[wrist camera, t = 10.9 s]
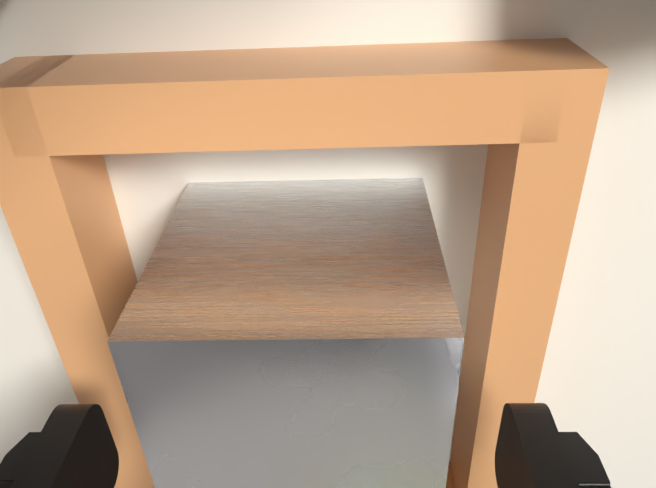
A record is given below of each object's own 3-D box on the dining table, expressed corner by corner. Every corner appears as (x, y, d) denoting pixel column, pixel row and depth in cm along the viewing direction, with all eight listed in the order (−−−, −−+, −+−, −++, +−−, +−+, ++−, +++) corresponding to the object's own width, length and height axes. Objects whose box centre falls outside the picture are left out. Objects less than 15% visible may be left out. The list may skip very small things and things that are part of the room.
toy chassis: (920, -196, 10) (1363, -254, 5) (630, 504, 20) (704, 665, 16) (-310, -134, 11) (-739, -144, 6) (32, 504, 21) (-44, 657, 17)
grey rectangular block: (422, 177, 12) (463, 337, 8) (407, 429, 16) (429, 620, 12) (188, 182, 12) (106, 341, 8) (234, 430, 17) (197, 617, 12)
